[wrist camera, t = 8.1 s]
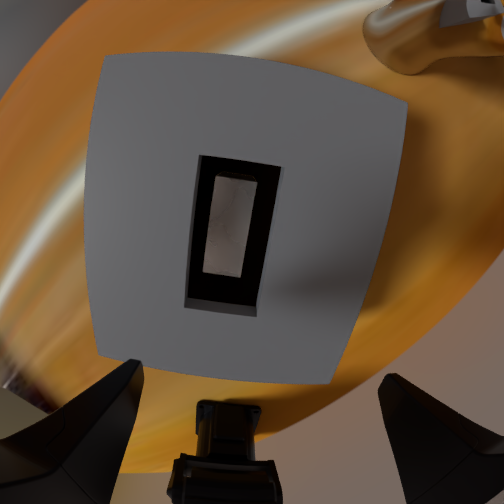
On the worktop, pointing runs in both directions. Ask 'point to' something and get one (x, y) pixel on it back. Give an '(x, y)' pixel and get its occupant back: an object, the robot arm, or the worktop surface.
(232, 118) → the coin box
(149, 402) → the worktop surface
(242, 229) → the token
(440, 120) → the worktop surface
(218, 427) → the robot arm
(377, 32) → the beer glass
